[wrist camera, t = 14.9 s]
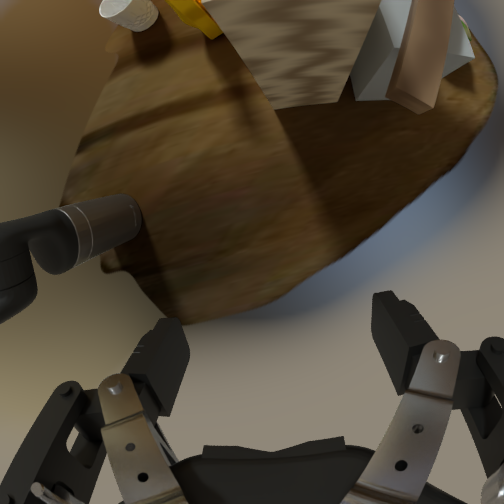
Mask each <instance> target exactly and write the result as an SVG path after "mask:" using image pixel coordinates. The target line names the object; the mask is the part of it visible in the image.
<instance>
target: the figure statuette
mask: <svg viewBox="0 0 504 504" xmlns="http://www.w3.org/2000/svg"><path fill="white" fill-rule="evenodd" d="M165 1H166V2H167V3H168V4H169V5H170V6H171V7H172V8H173V10H174V11H175V12H176V13H177V15H178V16H179V17H180V19H181V20H182V21H183V22H184V23H185V24H187V25H189V26H192V27H195V28H198V29H200V30H201V31H202V32H203V33H204V34H205V35H206V36H207V37H209V38H210V39H211V40H212V39H214V38H216V37H217V36H219V35H221V34H222V33H223V31H222V30H221V28H220V27H219V26H218V24H217V23H216V22H215V20H214V19H213V18H212V16H211V15H210V14H209V12H208V11H207V10H206V8H205V7H204V6H203V4H202V3H201V0H165Z"/></svg>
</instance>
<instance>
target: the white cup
mask: <svg viewBox="0 0 504 504" xmlns="http://www.w3.org/2000/svg"><path fill="white" fill-rule="evenodd" d="M99 12H100V15H101V16H102V17H104V18H106V19H109V20H111V21H113V22H115V23H117V24H119V25H121V26H123V27H126V28H129V29H131V30H133V31H134V32H141V31H143V30H146V29H148V28H149V27H150V26H151V25H153V24H154V22H155V21H156V19H157V18H158V13H159V11H158V9H157V7H156V6H155V5H154V4H153V3H152V2H151V1H150V0H103V1H102V3H101V5H100V9H99Z"/></svg>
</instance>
